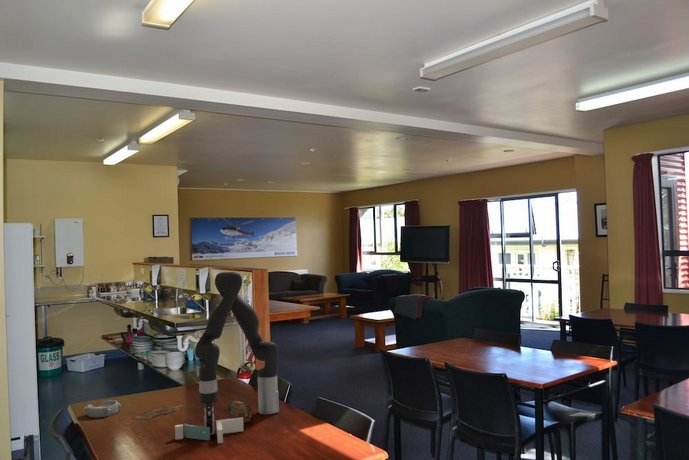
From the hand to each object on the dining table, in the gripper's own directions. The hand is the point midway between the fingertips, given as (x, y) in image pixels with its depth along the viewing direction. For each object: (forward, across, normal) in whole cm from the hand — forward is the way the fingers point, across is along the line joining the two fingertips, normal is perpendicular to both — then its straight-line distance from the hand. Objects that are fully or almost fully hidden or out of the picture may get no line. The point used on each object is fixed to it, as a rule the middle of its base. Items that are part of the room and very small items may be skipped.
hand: (209, 430), depth 224 cm
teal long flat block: (+2, -2, +6) cm, 6 cm away
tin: (+3, +16, -14) cm, 22 cm away
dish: (+3, +51, +49) cm, 71 cm away
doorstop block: (+1, 0, 0) cm, 1 cm away
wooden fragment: (+3, +44, +22) cm, 49 cm away
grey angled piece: (+2, -3, 0) cm, 4 cm away
